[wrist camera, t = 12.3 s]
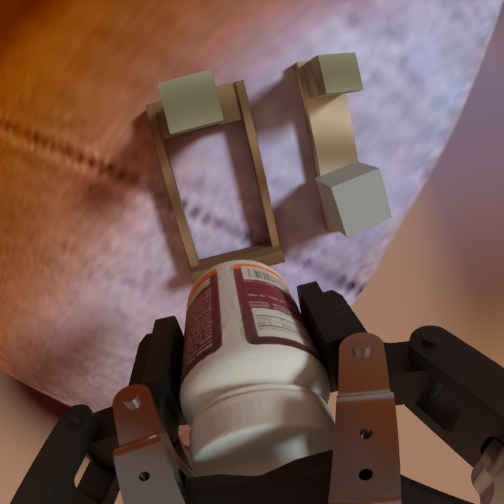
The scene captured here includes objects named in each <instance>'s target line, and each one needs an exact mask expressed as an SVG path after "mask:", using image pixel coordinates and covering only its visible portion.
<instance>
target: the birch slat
mask: <svg viewBox="0 0 504 504" xmlns="http://www.w3.org/2000/svg"><path fill="white" fill-rule="evenodd" d="M294 66H295V70H296V74H297V79H298V83H299V87H300V92H301V96H302V101H303V105H304V110H305V115H306V120H307V124H308V129H309V134H310V139H311V145H312V150H313V155H314V161H315V166H316V172H317V177H319V176H322V175H324V174H327V173H329V172H332V171H334V170H337V169H339V168H342V167H344V166H347V165H349V164H352V163H354V162H358V158H357V151H356V145H355V139H354V133H353V127H352V122H351V116H350V111H349V106H348V101H347V96H346V93H350V92H355V91H360V90H363V86H362V81H361V76H360V72H359V68H358V63H357V59H356V55H355V53H340V54H327V55H318V56H316V57H314V58H313V59H311V60H309V61H300V62H296V63H295V64H294ZM321 202H322V199H321ZM322 208H323V214H324V221H325V228H326V230H327V231H328V232H333V231H337V230H338V229H337V228H336V227H335V226H333V225H332V224H331V223H330V222H329V219H328V216H327V213H326V211H325V208H324V205H323V202H322Z"/></svg>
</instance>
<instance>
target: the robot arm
mask: <svg viewBox="0 0 504 504" xmlns="http://www.w3.org/2000/svg"><path fill="white" fill-rule="evenodd" d="M297 292H298V298H299V304H300V310H301V315H302V318H303V320H304V323H305V325H306V327H307V329H308V331H309V334H310V336H311V338H312V340H313V342H314V344H315V347H316V349H317V351H318V354H319V356H320V358H321V360H322V362H323V364H324V366H325V367H326V369H327V372H328V376H329V381H330V392H331V393H332V392H335V391H338V396H337V401H336V419H335V434H334V447H333V451H332V449H331V450H328V451H325V452H321V453H318V454H314V455H310V456H307V457H303V458H299V459H295V460H293V461H291V462H289V463H287V464H285V465H283V466H281V467H278V468H276V469H274V470H272V471H269V472H267V473H265V474H262V475H259V476H246V475H228V474H216V475H208V476H199V477H196V476H195V475H194V473H193V471H192V468H191V461H190V458H189V456H188V454H187V451H186V449H185V446H184V444H183V442H182V439H181V437H180V436H179V434H178V428H179V426H180V425H187V422H186V420H185V418H184V416H183V413H182V410H181V405H180V390H179V389H180V384H181V372H182V359H183V346H184V336H183V333H182V331H181V328H180V326H179V324H178V321H177V319H176V317H175V316H170V317H166V318H161V319H157V320H155V323H154V328H153V332H152V333H151V334H146V335H145V337H144V338H143V339H142V341H141V342H140V343H139V347H138V350H137V354H136V358H135V362H134V366H133V370H132V374H131V378H130V382H129V386H127V387H125V388H123V389H122V390H120V391H119V392H118V393H117V394H116V396H115V397H114V399H113V403H112V406H111V407H109V408H106V409H103V410H101V411H98V412H95V413H93V411H92V410H91V409H90V408H89V407H88V406H87V405H83V404H79V405H75V406H72V407H70V408H69V409H67V410H66V411H65V412H64V413H63V414H62V416H61V417H60V419H59V421H58V422H57V424H56V425H55V427H54V428H53V430H52V432H51V433H50V435H49V437H48V438H47V440H46V441H45V443H44V445H43V447H42V448H41V450H40V451H39V453H38V455H37V457H36V458H35V460H34V462H33V463H32V465H31V467H30V469H29V470H28V472H27V474H26V476H25V478H24V479H23V481H22V483H21V484H20V486H19V488H18V490H17V492H16V494H15V495H14V497H13V499H12V501H11V503H10V504H114V502H115V500H116V498H117V495H118V492H119V490H120V491H121V495H122V499H123V503H124V504H474V503H471V502H468V501H465V500H462V499H460V498H457V497H454V496H451V495H448V494H446V493H444V492H441V491H438V490H436V489H433V488H431V487H428V486H426V485H424V484H421V483H419V482H417V481H414V480H411V479H409V478H407V477H405V476H403V475H401V474H400V458H399V441H398V429H397V418H396V408H395V405H402V404H404V405H405V406H406V407H407V408H408V409H410V411H412V412H413V413H414V414H415V415H416V416H417V417H418V418H419V419H420V420H421V421H423V422H424V423H425V424H426V425H427V426H428V427H429V428H430V429H431V430H432V431H434V433H436V434H437V435H438V436H439V437H440V438H441V439H442V440H443V441H445V443H447V444H448V445H449V446H450V447H451V448H452V449H453V450H454V451H455V452H456V453H458V454H459V455H460V456H461V457H462V458H463V459H464V460H465V461H466V462H467V463H469V464H470V465H471V466H472V467H473V470H472V474H471V481H472V484H473V486H474V488H475V489H476V491H478V494H479V496H480V504H504V368H503V367H502V366H500V365H498V364H497V363H496V362H494V361H493V360H491V359H490V358H488V357H487V356H485V355H484V354H482V353H480V352H479V351H477V350H476V349H474V348H473V347H471V346H470V345H468V344H467V343H465V342H464V341H462V340H461V339H459V338H457V337H456V336H454V335H453V334H451V333H450V332H448V331H447V330H445V329H443V328H441V327H438V326H423V327H420V328H418V329H416V330H415V331H414V332H413V333H412V334H411V336H410V340H409V341H407V342H398V343H384V342H383V341H382V340H381V339H380V338H379V337H378V336H376V335H374V334H371V333H367V331H366V330H365V328H364V327H363V325H362V324H361V322H360V321H359V319H358V318H357V316H356V315H355V314H354V312H353V311H352V309H351V308H350V306H349V305H348V304H347V302H346V300H345V299H344V298H343V296H342V295H340V294H339V293H337V292H335V291H333V290H330V291H326V292H322V290H321V289H320V287H319V285H318V284H317V282H316V281H314V282H311V283H307V284H303V285H299V286H297ZM85 456H86V457H87V458H88V459H89V460H90V462H89V464H88V466H87V468H86V470H85V472H84V474H83V476H82V478H81V480H80V483H79V485H78V487H77V488H76V486H75V483H74V479H75V475H76V473H77V471H78V469H79V467H80V466H81V464H82V462H83V460H84V458H85Z"/></svg>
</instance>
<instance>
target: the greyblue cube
mask: <svg viewBox="0 0 504 504" xmlns="http://www.w3.org/2000/svg"><path fill="white" fill-rule="evenodd" d="M314 179H315V182H316V185H317V187H318V190H319V193H320V196H321V199H322V202H323V205H324V208H325V211H326V213H327V216H328V219H329V222H330V223H331V224H332V225H333V226H335V227H336V228H337V229H338V230H339V231H340V232H341V233H343V234H344V235H345V236H346V237H349V236H351V235H353V234H356V233H358V232H360V231H362V230H364V229H367V228H369V227H371V226H373V225H376V224H378V223H380V222H382V221H384V220H387V219H389V218H391V217H392V216H391V212H390V208H389V204H388V200H387V196H386V192H385V188H384V185H383V181H382V177H381V174H380V170H379V168H377V167H373V166H370V165H367V164H363V163H360V162H354V163H352V164H349V165H347V166H344V167H342V168H339V169H337V170H334V171H332V172H329V173H327V174H324V175H322V176H319V177H317V178H314Z"/></svg>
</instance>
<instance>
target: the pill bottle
mask: <svg viewBox="0 0 504 504" xmlns="http://www.w3.org/2000/svg"><path fill="white" fill-rule="evenodd" d="M179 390H180V405H181V410H182V413H183V416H184V418H185V420H186V422H187V424H188V425H189V426H190V428H191V430H190V435H189V438H190V458H191V468H192V471H193V473H194V475H195V476H196V477H199V476H208V475H216V474H228V475H246V476H259V475H262V474H265V473H267V472H269V471H272V470H274V469H276V468H278V467H281V466H283V465H285V464H287V463H289V462H291V461H293V460H295V459H299V458H303V457H307V456H310V455H314V454H318V453H321V452H325V451H328V450H331V449H332V451H333V447H334V434H335V423H334V421H333V418H332V415H331V412H330V410H329V408H328V406H327V403H328V400H329V396H330V381H329V376H328V372H327V369H326V367H325V366H324V364H323V362H322V360H321V358H320V356H319V354H318V351H317V349H316V347H315V344H314V342H313V340H312V338H311V336H310V334H309V331H308V329H307V327H306V325H305V323H304V320H303V318H302V315H301V314H300V312H299V309H298V307H297V305H296V303H295V300H294V298H293V296H292V294H291V292H290V290H289V288H288V286H287V284H286V282H285V281H284V279H283V278H282V277H281V276H280V275H279V274H278V273H277V272H276V271H275V270H273V269H272V268H270V267H269V266H267V265H265V264H262V263H260V262H256V261H252V260H233V261H228V262H224V263H221V264H218V265H216V266H213V267H212V268H210V269H209V270H207V271H206V272H205V273H204V274H203V275H202V276H201V277H200V278H199V279H198V280H197V281H196V283H195V284H194V286H193V287H192V289H191V292H190V294H189V298H188V304H187V311H186V323H185V332H184V346H183V359H182V372H181V384H180V389H179Z"/></svg>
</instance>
